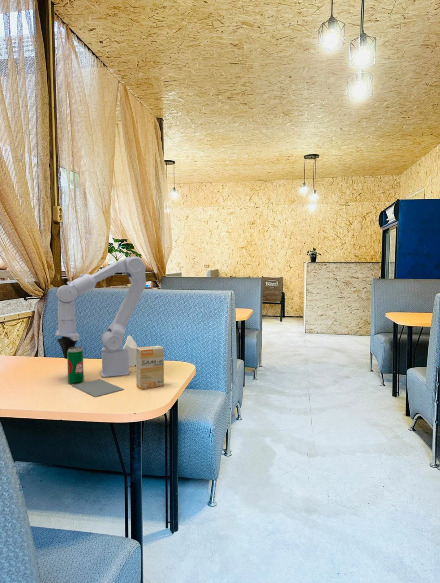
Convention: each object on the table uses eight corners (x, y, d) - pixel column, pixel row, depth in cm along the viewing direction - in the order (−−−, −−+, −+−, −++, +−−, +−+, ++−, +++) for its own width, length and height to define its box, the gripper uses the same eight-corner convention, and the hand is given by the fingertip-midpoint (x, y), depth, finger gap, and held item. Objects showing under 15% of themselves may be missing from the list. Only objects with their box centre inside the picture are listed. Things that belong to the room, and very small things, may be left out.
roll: (132, 337, 154) (119, 336, 156) (132, 367, 155) (120, 366, 157) (139, 334, 160) (127, 333, 162) (140, 363, 161) (128, 362, 162)
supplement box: (140, 390, 127) (139, 350, 127) (136, 386, 132) (135, 347, 131) (164, 386, 131) (164, 347, 130) (159, 382, 136) (159, 344, 135)
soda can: (78, 385, 133) (77, 349, 132) (65, 384, 134) (63, 349, 133) (86, 380, 138) (85, 346, 137) (73, 379, 139) (72, 345, 138)
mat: (72, 386, 132) (72, 385, 132) (99, 379, 139) (99, 379, 139) (95, 397, 121) (95, 396, 121) (123, 389, 128) (123, 388, 128)
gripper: (46, 318, 141) (48, 356, 142) (64, 323, 131) (65, 363, 132) (66, 317, 146) (67, 353, 147) (84, 321, 136) (85, 360, 137)
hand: (68, 358), depth 140 cm, fingers closed
